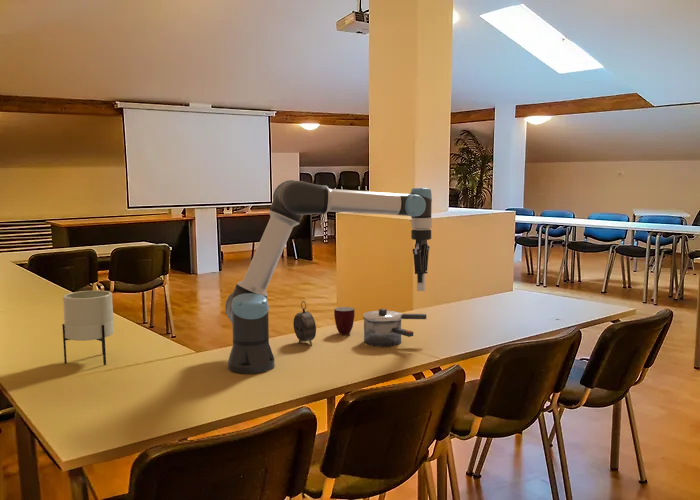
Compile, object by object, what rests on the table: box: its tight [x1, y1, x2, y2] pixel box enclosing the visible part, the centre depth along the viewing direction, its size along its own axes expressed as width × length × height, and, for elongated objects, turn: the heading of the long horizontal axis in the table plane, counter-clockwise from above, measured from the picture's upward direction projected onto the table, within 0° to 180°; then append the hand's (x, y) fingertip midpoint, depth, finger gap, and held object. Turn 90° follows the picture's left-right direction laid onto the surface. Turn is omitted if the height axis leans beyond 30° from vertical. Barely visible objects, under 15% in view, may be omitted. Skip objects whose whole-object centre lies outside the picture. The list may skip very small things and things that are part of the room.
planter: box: [62, 289, 115, 366], centre depth 207 cm, size 15×16×23 cm
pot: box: [363, 318, 414, 348], centre depth 227 cm, size 14×23×9 cm, turn 36°
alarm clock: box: [293, 300, 317, 347], centre depth 228 cm, size 11×5×16 cm, turn 31°
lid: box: [362, 308, 427, 322], centre depth 230 cm, size 15×24×3 cm, turn 86°
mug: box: [333, 306, 355, 336], centre depth 242 cm, size 10×8×10 cm
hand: (421, 290), depth 233 cm, fingers closed
